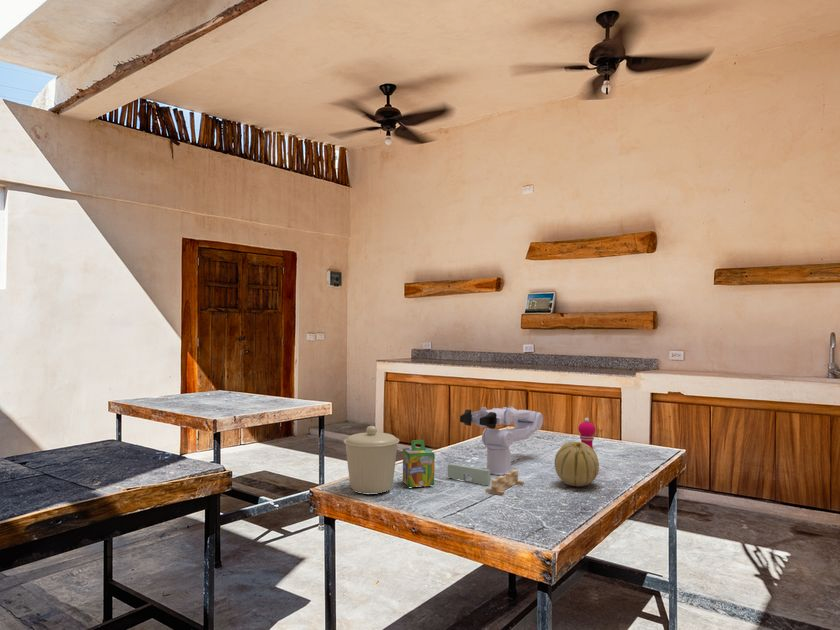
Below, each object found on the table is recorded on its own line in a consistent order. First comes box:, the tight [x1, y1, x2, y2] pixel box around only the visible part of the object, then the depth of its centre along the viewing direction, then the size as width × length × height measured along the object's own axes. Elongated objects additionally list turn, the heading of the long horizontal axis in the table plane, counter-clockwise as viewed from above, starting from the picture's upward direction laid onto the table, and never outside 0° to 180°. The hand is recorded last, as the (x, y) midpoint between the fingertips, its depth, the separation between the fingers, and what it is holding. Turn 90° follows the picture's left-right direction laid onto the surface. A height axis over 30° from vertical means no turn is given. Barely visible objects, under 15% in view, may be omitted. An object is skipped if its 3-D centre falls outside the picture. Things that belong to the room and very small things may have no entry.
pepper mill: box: [577, 417, 596, 450], centre depth 210 cm, size 7×7×20 cm
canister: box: [343, 425, 400, 493], centre depth 186 cm, size 18×18×21 cm
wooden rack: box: [485, 469, 525, 496], centre depth 189 cm, size 16×6×4 cm, turn 145°
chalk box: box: [402, 439, 436, 488], centre depth 193 cm, size 9×9×15 cm
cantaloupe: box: [554, 441, 600, 488], centre depth 192 cm, size 15×15×15 cm
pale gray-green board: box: [447, 462, 491, 486], centre depth 197 cm, size 2×16×5 cm, turn 55°
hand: (470, 420), depth 194 cm, fingers open, 7 cm apart
